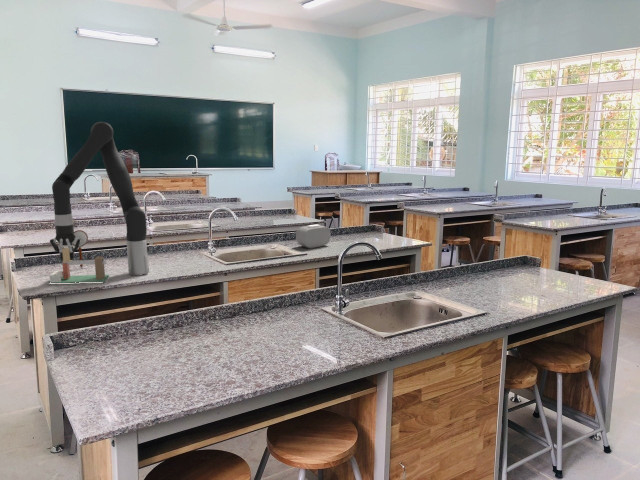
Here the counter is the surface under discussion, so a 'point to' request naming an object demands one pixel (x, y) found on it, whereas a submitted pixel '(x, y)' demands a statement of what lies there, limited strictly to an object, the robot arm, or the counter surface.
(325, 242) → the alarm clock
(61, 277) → the ball
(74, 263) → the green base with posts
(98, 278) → the pitch
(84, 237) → the magnifying glass
